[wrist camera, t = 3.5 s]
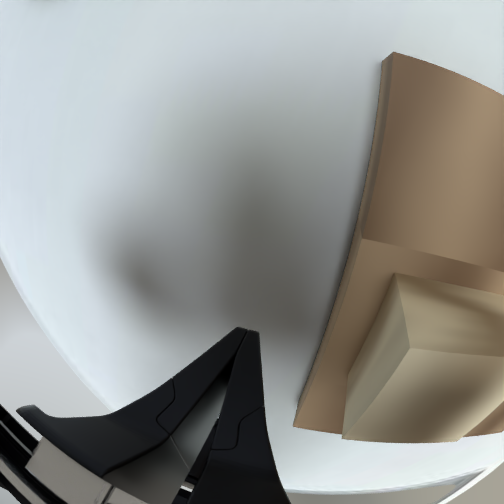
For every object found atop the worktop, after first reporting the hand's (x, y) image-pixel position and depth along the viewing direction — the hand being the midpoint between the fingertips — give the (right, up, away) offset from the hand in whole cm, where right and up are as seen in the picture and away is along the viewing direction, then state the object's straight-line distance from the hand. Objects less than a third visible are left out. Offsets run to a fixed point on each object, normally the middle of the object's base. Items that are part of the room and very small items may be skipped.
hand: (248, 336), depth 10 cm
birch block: (+8, -1, 0) cm, 8 cm away
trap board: (+13, -1, 0) cm, 13 cm away
